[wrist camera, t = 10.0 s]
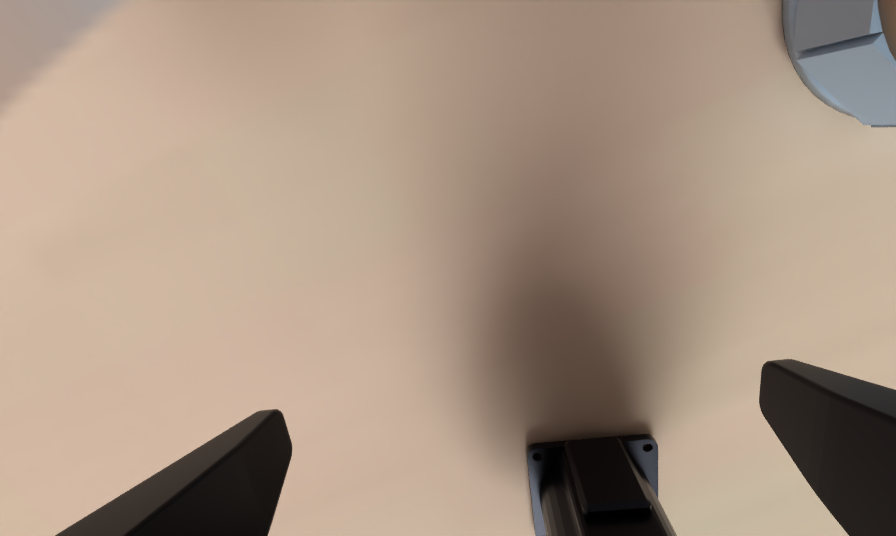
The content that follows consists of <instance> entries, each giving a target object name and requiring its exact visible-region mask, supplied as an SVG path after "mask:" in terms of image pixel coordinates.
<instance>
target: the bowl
mask: <svg viewBox="0 0 896 536" xmlns="http://www.w3.org/2000/svg"><path fill="white" fill-rule="evenodd" d="M782 21H783V29H784V38H785V42H786V46H787V49H788V53H789V56H790V58H791V61H792V63H793V65H794V68H795V70H796V72H797V73H798V75H799V76H800V78H801V80H802V81H803V83H804V84H805V85H806V86H807V87H808V88H809V90H810V91H811V92H812V93H813V94H814V95H815V96H816V97H817V98H819V99H820V100H821V101H822V102H824V103H825V104H826V105H828V106H830V107H832V108H833V109H835V110H837V111H839V112H841V113H844V114H846V115H849V116H852V117H855V118H857V119H858V120H859V121H860V122H861V123H862V124H863V125H871V127H896V61H895V59H894V57H893V56H892V54H891V52H890V50H889V48H888V45H887V42H886V39H885V36H884V34H883V31H882V27H881V21H880V16H879V11H878V0H783V13H782Z"/></svg>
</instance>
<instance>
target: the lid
mask: <svg viewBox="0 0 896 536" xmlns="http://www.w3.org/2000/svg"><path fill="white" fill-rule="evenodd" d="M878 11H879V16H880V21H881V27H882V31H883V34H884V36H885V39H886V42H887V45H888V48H889V50H890V52H891V54H892V56H893V57H894V59H895V61H896V0H878Z"/></svg>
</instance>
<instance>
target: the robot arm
mask: <svg viewBox="0 0 896 536" xmlns="http://www.w3.org/2000/svg"><path fill="white" fill-rule="evenodd" d="M759 404H760V408H761V411H762V414H763V415H764V417H765V419H766V420H767V422H768V423H769V425H770V426H771V428H772V429H773V431H774V432H775V434H776V435H777V437H778V438H779V440H780V441H781V443H782V444H783V446H784V447H785V449H786V450H787V452H788V453H789V455H790V456H791V458H792V459H793V461H794V462H795V464H796V465H797V467H798V468H799V470H800V471H801V473H802V474H803V476H804V477H805V479H806V480H807V482H808V483H809V485H810V486H811V487H812V489H813V490H814V492H815V493H816V494H817V496H818V497H819V498H820V500H821V501H822V502H823V504H824V505H825V506H826V507H827V509H828V510H829V511H830V513H831V514H832V515H833V516H834V517H835V519H836V520H837V521H838V522H839V524H840V525H841V526H842V527H843V529H844V530H845V531H846V532H847V534H848V535H849V536H896V390H894V389H891V388H887V387H884V386H880V385H877V384H874V383H870V382H867V381H864V380H860V379H857V378H854V377H850V376H847V375H843V374H840V373H837V372H833V371H830V370H827V369H823V368H820V367H816V366H813V365H810V364H806V363H803V362H800V361H796V360H792V359H784V360H774V361H768V362H766V363H765V364H764V365H763V367H762V371H761V384H760V396H759ZM645 444H649V445H648V446H645V447H644V445H645ZM526 453H527V462H528V471H529V481H530V490H531V499H532V509H533V518H534V527H535V535H536V536H544V535H546V536H677V535H676V533H675V531H674V529H673V527H672V525H671V523H670V521H669V519H668V518H667V516H666V514H665V512H664V510H663V508H662V506H661V504H660V502H659V500H658V445H657V443H656V441H655V439H654V438H653V437H652V436H651V435H648V434H642V435H630V436H618V437H606V438H595V439H583V440H571V441H559V442H548V443H536V444H532V445H530V446H529V447H528V448H527V452H526ZM535 453H540V454H539V455H537V456H536V455H533V454H535ZM291 456H292V443H291V439H290V436H289V433H288V429H287V426H286V423H285V419H284V416H283V414H282V412H281V411H279V410H278V409H273V410H262V411H258V412H256V413H254V414H253V415H251V416H249V417H248V418H246V419H244V420H243V421H241V422H239V423H238V424H236V425H235V426H233V427H231V428H230V429H228V430H226V431H225V432H223V433H222V434H220V435H218V436H217V437H215V438H213V439H212V440H210V441H208V442H207V443H205V444H204V445H202V446H200V447H199V448H197V449H195V450H194V451H192V452H191V453H189V454H187V455H186V456H184V457H182V458H181V459H179V460H177V461H176V462H174V463H173V464H171V465H169V466H168V467H166V468H164V469H163V470H161V471H160V472H158V473H156V474H155V475H153V476H151V477H150V478H148V479H146V480H145V481H143V482H142V483H140V484H138V485H137V486H135V487H133V488H132V489H130V490H129V491H127V492H125V493H124V494H122V495H120V496H119V497H117V498H115V499H114V500H112V501H111V502H109V503H107V504H106V505H104V506H102V507H101V508H99V509H97V510H96V511H94V512H93V513H91V514H89V515H88V516H86V517H84V518H83V519H81V520H80V521H78V522H76V523H75V524H73V525H71V526H70V527H68V528H66V529H65V530H63V531H62V532H60V533H58V534H57V535H56V536H268V533H269V530H270V527H271V524H272V521H273V517H274V514H275V511H276V507H277V504H278V500H279V497H280V494H281V490H282V487H283V484H284V480H285V477H286V473H287V470H288V467H289V463H290V460H291Z"/></svg>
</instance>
